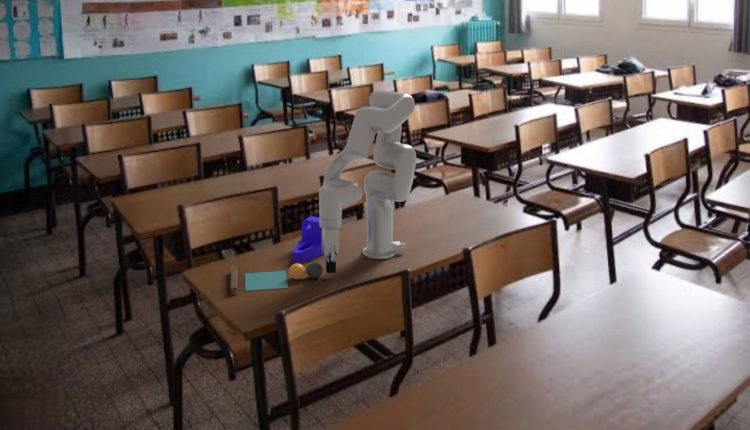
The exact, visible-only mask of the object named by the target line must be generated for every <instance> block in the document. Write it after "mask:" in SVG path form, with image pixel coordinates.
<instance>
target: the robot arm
mask: <svg viewBox="0 0 750 430" xmlns="http://www.w3.org/2000/svg"><path fill="white" fill-rule="evenodd" d="M368 101H369V106H361V107H359V108H358V109H357V110H356V112H355V115H354V117H353V121H352V125H351V129H350V131H349V135H348V138H347V142H346V145H345V147H344V149H343V150H341V151H340V152H339V153H338V154H337V155H336V156H335V157H334V158H333V159H332V160H331V162H330V163H329V164H328V166H327V168H326V171H325V173H324V178H323V182H322V186H320V187H319V189H318V190H319V191H318V200H319V201H318V204H319V205H318V207H319V208H318V209H319V212H318V213H319V226H320V227H321V228H322V241H321V248H322V252H323V255H322V256H324V258H325V260H326V261H325V270H326V273H327V274H335V273H337V261H336V259H337V258H336V257H338V256H339V251H340V250H339V249H340V240H339V239H340V237H339V236H340V234H339V233H340V232H339V229H340V228H342V227H343V216H342V215H343V206H347V205H348V206H349V205H353V204H356V203H357V202H359V201H360V200H361V198H362V197H363V193H364V192H365V193H364V194H365V200H366V246H364V247H363V248H362V254H363V256H364V257H366V258H369V259H372V260H373V259H375V260H386V259H391V258H393V257H395V256H396V255H397V250H398V249H406V243H405V242H402V243H401V241H394V240H393V236H394V235H393V234H394V233H393V231H394V230H393V229H394V227H393V221H394V219H393V218H394V217H393V216H394V210H393V209H394V208H393V203H392V201H393V202H396V203H397V202H404V201H406V200H407V199H408V198H409V195H410V193H411V190H412V185H413V180H414V174H415V169H416V165H417V164H416V163H417V153H416V150H415V148H414V147H412V146H411V145H410V144H405V143H401V136H402V130H403V127H402V124H404V123H405V122H406V121H407V120H408V119H409V118H410V117H411V116H412V114H413V112H414V110H415V108H416V107H415V106H416V105H415V104H416V102H415V99H414V97H412V95H410V94H408V93H406V92H398V91H391V90H383V89H381V90H380V89H379V90H375V91H372V92H371V94H370V95H369V100H368ZM376 134H377V135H376ZM375 136H376V139H375ZM374 140H375V143H374ZM373 144H374V145H375V146H374V149H373V150H374V151H373V162H374V164H375V165H377V166H379V167H382V168H386V169H391V170H395V173H394V172H389V171H385V170H381V169H377V170H376V169H375V170H371V171H369V172H368V173H367V174H366V175H365V176H364V179H363V180H364V181H363V188H364V191H363V188H362V186H361V184H359V183H357V182H355V181H350V180H348V179H342V178H341V176H342V173H343V172H344V170H345V168H346V167H348V166H349V165H350V164H352V163H354V162H357V161H359V160H362V159H366V158H368V157H369V155H370V153H371V150H372V146H373Z"/></svg>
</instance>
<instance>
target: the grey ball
mask: <svg viewBox="0 0 750 430" xmlns="http://www.w3.org/2000/svg"><path fill="white" fill-rule="evenodd" d="M305 273H306V275H307V276H308V277H309V278H311V279H317V278H319V277H320V276H322V274H323V267H322V265H321V264H320V263H318V262H316V261H314V262H310V263H309V264H308V265H307V266H306V268H305Z"/></svg>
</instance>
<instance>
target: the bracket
mask: <svg viewBox="0 0 750 430" xmlns="http://www.w3.org/2000/svg"><path fill="white" fill-rule="evenodd" d="M321 241H322V228H321V227H320V226H319V217H317V216H313V215H312V216H309V217H307V218H306V219H304V220H302V221H301V239H300V240H299V241H298V243H297V244H296V245H295V247H294V248H293V250H292V263H293V264H296V263H299V264H302V263H305V262H308V261H310V260H312V259H316V258H318V257H321V256H324V255H323V252H322V248H321Z"/></svg>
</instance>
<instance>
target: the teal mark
mask: <svg viewBox="0 0 750 430" xmlns="http://www.w3.org/2000/svg"><path fill="white" fill-rule="evenodd" d="M286 272H287V271H286V270H275V271H263V272H262V271H261V272H251V273H250V272H249V273H247V272H246V273H244V290H245V292H253V291H265V290H283V289H289V285H288V278H287V273H286Z"/></svg>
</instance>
